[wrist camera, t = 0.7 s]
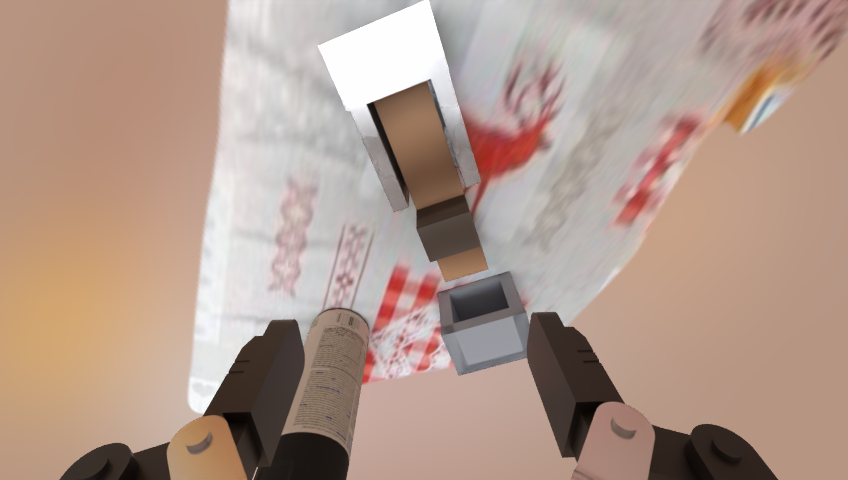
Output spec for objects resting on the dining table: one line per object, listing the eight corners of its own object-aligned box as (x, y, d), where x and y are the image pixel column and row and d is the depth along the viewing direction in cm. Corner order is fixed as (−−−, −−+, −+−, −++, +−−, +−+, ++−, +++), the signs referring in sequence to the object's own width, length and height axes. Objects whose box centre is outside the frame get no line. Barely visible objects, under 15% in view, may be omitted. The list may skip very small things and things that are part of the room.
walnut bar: (359, 45, 28) (340, 45, 21) (408, 24, 27) (406, 17, 20) (442, 259, 36) (448, 306, 30) (481, 247, 36) (495, 292, 29)
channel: (341, 46, 28) (318, 45, 22) (425, 10, 27) (428, -1, 21) (397, 184, 34) (393, 217, 27) (470, 158, 33) (483, 186, 26)
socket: (509, 271, 39) (526, 312, 33) (520, 310, 41) (538, 354, 35) (437, 292, 40) (441, 336, 34) (453, 329, 42) (458, 375, 36)
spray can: (300, 317, 41) (212, 522, 23) (355, 298, 40) (305, 498, 22) (329, 357, 44) (269, 566, 26) (380, 341, 43) (354, 547, 25)
